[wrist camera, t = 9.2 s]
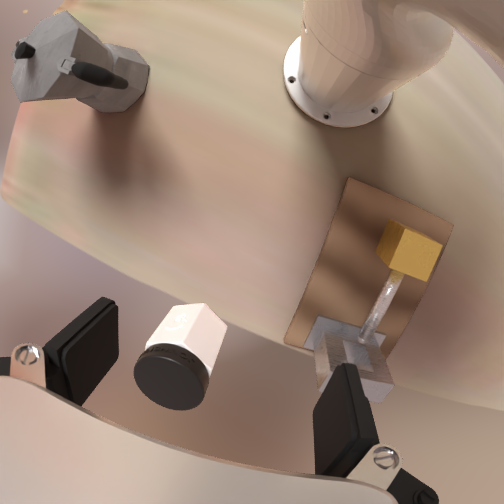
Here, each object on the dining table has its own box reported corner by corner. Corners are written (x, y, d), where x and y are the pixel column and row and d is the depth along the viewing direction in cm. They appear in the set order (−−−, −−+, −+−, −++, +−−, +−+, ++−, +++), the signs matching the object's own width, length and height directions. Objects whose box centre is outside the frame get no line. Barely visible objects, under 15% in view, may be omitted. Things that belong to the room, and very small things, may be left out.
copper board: (348, 176, 31) (350, 177, 30) (450, 223, 31) (453, 225, 30) (283, 338, 38) (283, 342, 37) (379, 363, 38) (380, 367, 37)
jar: (220, 298, 37) (194, 354, 26) (234, 350, 40) (216, 412, 28) (159, 305, 39) (118, 355, 27) (176, 353, 41) (146, 408, 30)
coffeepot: (73, 98, 31) (-26, 86, 14) (104, 40, 28) (14, 0, 11) (153, 138, 32) (47, 132, 15) (191, 71, 29) (111, 9, 12)
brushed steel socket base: (318, 313, 35) (325, 361, 26) (385, 333, 35) (406, 379, 26) (303, 344, 37) (305, 395, 28) (367, 361, 37) (383, 410, 28)
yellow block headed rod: (388, 218, 29) (405, 228, 24) (423, 233, 29) (442, 245, 24) (339, 326, 33) (346, 350, 29) (373, 336, 33) (383, 359, 29)
